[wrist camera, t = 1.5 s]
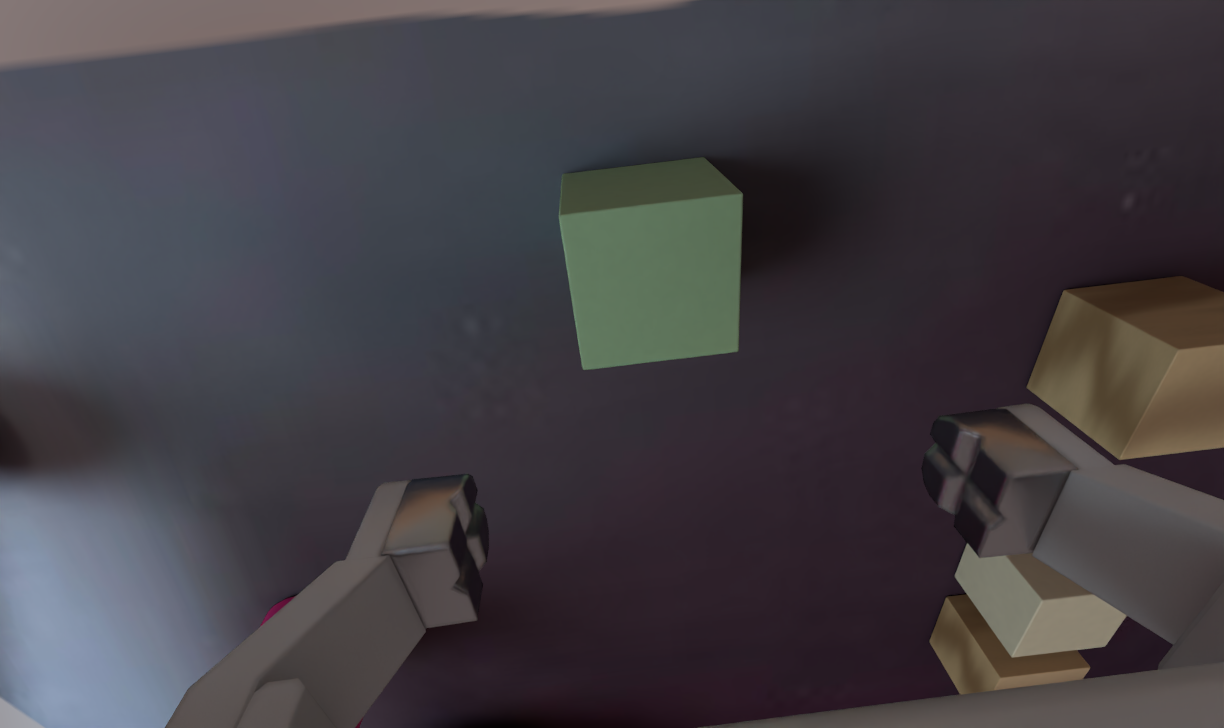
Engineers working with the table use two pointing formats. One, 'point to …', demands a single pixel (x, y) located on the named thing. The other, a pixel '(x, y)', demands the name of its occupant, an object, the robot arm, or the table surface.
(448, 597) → the robot arm
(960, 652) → the line block
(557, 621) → the table surface
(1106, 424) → the line block
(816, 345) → the table surface
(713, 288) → the green block
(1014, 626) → the line block
